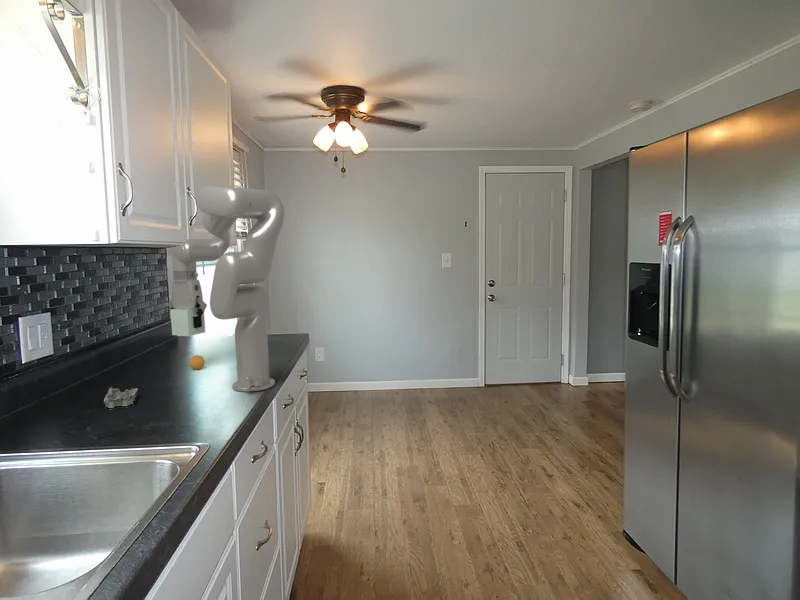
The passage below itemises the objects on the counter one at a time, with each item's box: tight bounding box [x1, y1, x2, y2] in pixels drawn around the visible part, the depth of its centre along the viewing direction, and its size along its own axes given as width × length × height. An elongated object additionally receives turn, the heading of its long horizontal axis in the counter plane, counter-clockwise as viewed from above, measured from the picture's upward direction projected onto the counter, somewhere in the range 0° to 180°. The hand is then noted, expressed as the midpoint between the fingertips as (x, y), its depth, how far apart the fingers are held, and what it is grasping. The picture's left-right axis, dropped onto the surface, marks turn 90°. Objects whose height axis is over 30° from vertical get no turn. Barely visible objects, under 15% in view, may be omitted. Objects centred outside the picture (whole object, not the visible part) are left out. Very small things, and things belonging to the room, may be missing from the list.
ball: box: [188, 354, 206, 370], centre depth 175 cm, size 5×5×5 cm
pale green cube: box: [170, 309, 206, 337], centre depth 170 cm, size 8×8×9 cm
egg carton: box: [103, 386, 139, 409], centre depth 139 cm, size 11×8×4 cm
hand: (188, 326), depth 171 cm, fingers closed on pale green cube, 7 cm apart
